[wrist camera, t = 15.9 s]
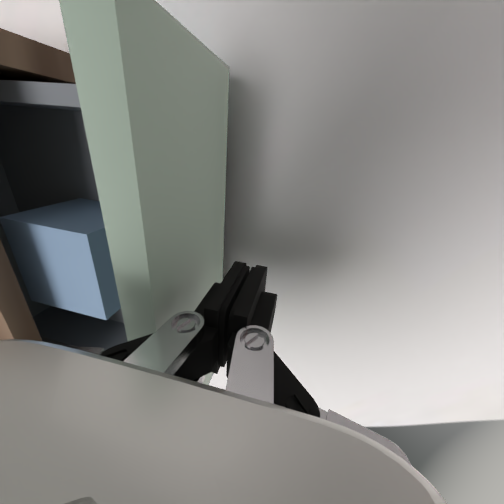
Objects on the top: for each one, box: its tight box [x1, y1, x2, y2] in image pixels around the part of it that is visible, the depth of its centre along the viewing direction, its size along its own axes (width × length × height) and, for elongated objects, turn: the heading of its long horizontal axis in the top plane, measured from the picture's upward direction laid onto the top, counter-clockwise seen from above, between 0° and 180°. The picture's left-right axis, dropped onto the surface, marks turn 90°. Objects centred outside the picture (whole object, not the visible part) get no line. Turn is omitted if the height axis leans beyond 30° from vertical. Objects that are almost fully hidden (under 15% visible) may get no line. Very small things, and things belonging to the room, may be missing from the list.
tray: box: [0, 0, 229, 385], centre depth 14 cm, size 16×20×8 cm
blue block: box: [0, 198, 121, 320], centre depth 14 cm, size 5×5×4 cm
